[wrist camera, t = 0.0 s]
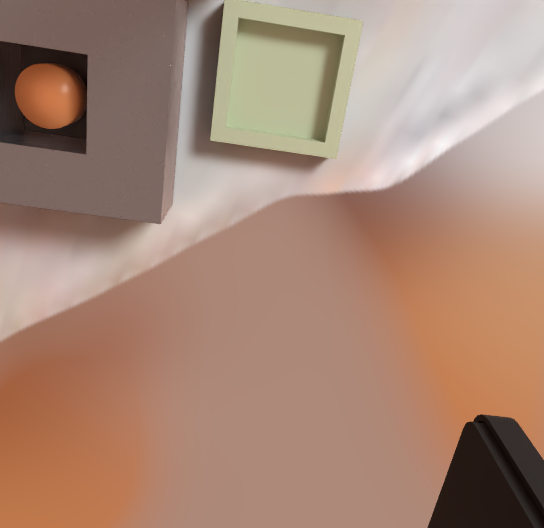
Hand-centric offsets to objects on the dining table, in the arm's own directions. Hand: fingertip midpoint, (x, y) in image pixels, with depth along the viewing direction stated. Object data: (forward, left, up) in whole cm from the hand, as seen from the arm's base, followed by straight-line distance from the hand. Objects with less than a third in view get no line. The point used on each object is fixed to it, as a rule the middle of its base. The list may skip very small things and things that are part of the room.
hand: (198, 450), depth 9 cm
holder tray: (-5, +2, -31) cm, 32 cm away
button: (-2, -13, -30) cm, 32 cm away
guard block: (-2, -13, -31) cm, 34 cm away
